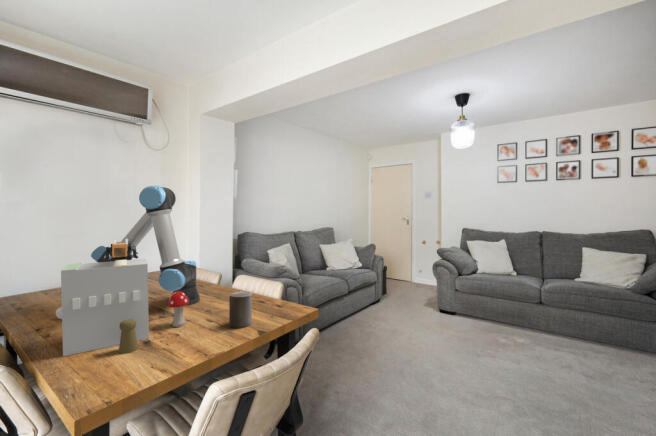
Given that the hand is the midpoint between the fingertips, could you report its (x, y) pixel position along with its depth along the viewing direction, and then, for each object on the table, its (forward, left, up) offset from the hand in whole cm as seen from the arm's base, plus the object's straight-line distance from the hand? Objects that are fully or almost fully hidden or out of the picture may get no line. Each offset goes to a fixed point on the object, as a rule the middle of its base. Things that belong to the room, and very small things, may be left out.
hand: (120, 241), depth 129 cm
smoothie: (+34, -31, -35) cm, 58 cm away
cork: (-10, +22, -38) cm, 45 cm away
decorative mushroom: (-22, 0, -38) cm, 44 cm away
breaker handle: (-1, +4, -4) cm, 6 cm away
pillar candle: (-49, +6, -38) cm, 63 cm away
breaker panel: (+1, +10, -38) cm, 39 cm away
